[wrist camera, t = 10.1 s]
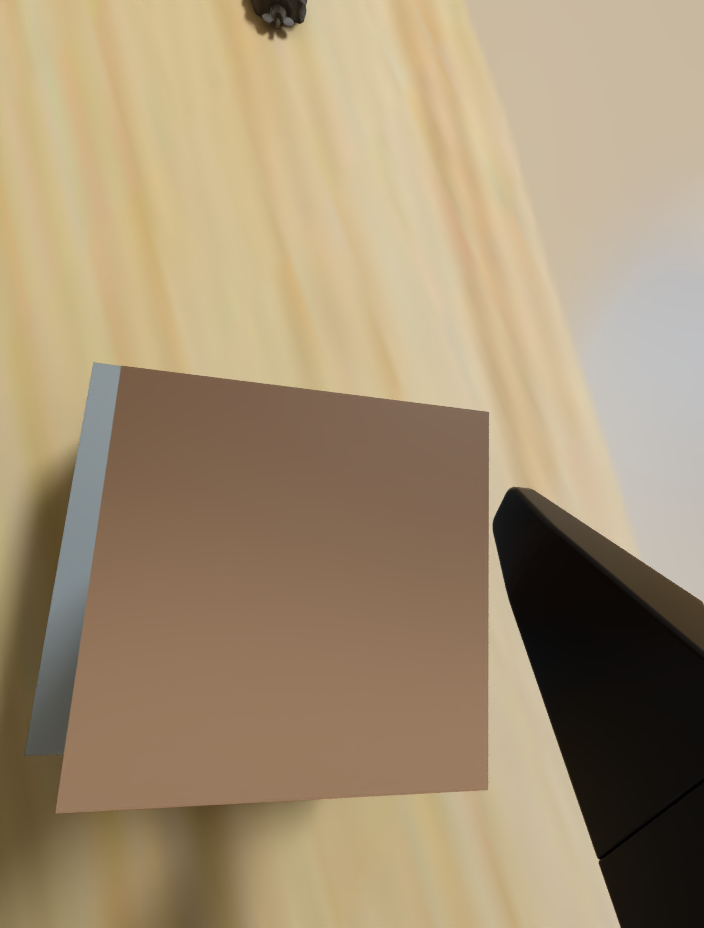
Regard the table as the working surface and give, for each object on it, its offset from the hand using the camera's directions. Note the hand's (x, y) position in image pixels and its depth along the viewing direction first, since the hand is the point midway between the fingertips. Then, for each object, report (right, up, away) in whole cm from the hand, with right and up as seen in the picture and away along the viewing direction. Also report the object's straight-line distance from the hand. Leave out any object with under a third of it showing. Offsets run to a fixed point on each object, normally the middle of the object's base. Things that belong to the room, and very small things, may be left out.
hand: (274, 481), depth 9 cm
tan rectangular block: (-2, -3, +7) cm, 8 cm away
